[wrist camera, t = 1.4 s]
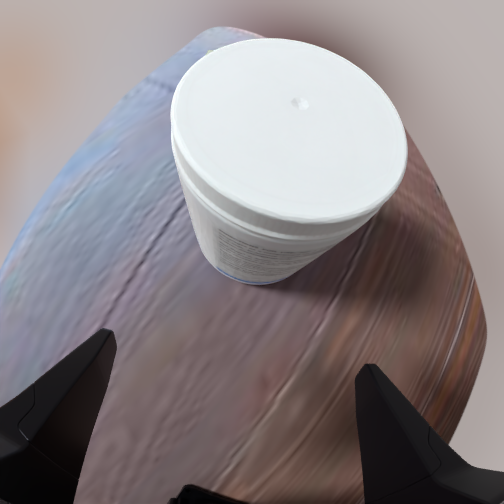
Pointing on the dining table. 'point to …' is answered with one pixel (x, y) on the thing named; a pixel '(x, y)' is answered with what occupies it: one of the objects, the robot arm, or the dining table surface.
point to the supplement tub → (281, 154)
